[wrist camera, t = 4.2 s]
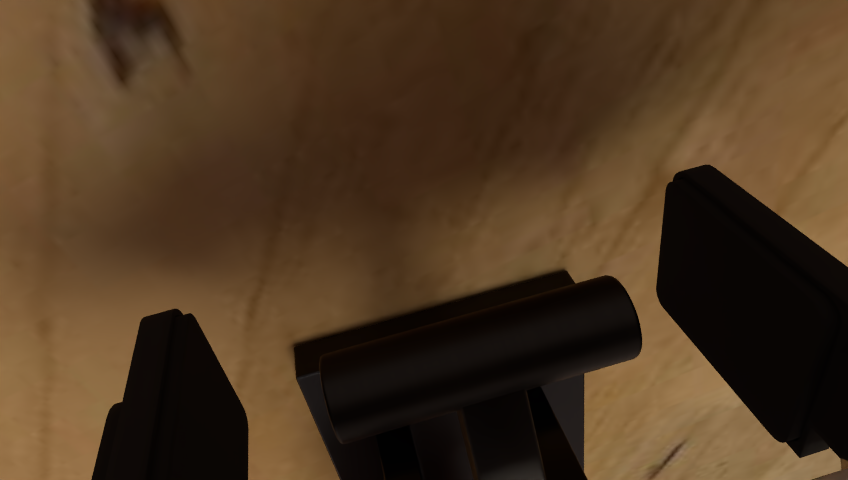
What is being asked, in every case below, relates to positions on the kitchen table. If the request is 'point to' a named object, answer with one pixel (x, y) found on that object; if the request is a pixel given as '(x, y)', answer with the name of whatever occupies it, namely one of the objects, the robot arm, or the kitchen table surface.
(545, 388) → the bracket
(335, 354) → the lever
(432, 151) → the kitchen table surface
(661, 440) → the kitchen table surface
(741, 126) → the kitchen table surface
